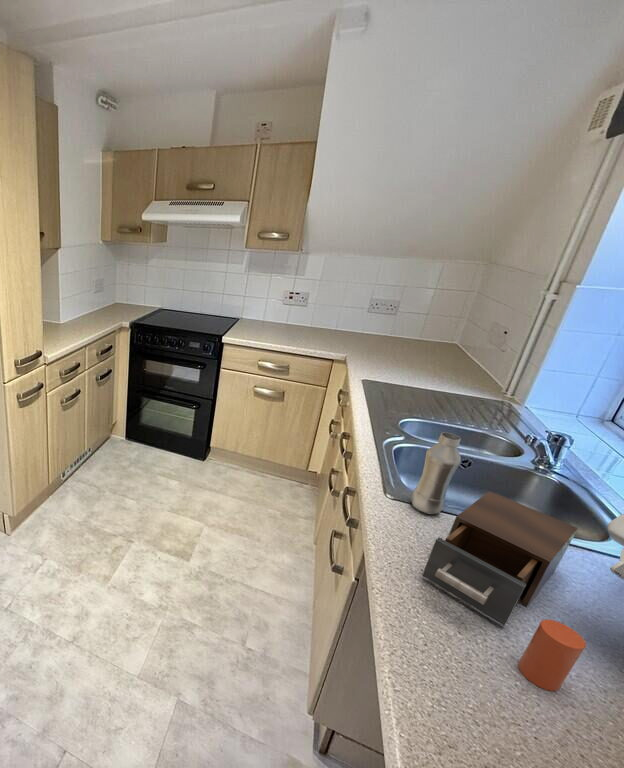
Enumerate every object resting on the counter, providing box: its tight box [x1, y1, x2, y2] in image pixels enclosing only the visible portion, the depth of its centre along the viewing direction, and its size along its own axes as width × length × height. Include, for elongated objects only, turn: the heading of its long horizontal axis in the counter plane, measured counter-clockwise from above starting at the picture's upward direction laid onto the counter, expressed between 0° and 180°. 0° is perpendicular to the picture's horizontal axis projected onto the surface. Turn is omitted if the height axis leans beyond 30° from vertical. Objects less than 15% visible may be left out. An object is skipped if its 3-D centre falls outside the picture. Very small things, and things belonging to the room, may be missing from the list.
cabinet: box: [448, 490, 579, 608], centre depth 82 cm, size 17×14×11 cm
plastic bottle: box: [410, 432, 462, 515], centre depth 96 cm, size 6×7×20 cm
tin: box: [517, 619, 587, 692], centre depth 61 cm, size 5×5×9 cm
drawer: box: [421, 524, 542, 627], centre depth 75 cm, size 20×12×9 cm, turn 122°
